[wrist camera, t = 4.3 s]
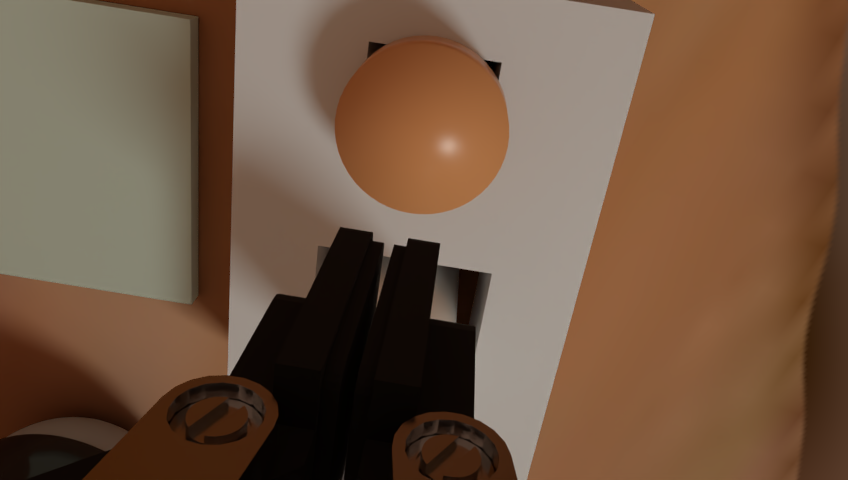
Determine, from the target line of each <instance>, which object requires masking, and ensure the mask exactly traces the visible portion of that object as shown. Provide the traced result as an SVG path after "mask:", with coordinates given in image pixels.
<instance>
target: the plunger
mask: <svg viewBox="0 0 848 480" xmlns="http://www.w3.org/2000/svg"><path fill="white" fill-rule="evenodd" d="M335 138H336V144H337V148H338V152H339V155H340V158H341V160H342V163H343V165H344V166H345V168H346V170H347V172H348V173H349V175H350V176H351V178H352V179H353V180H354V182H355V183H356V184H357V185H358V186H359V187H360V188H361V189H362V190H363V191H364V192H365V193H367V194H368V195H369V196H370V197H372V198H373V199H375V200H376V201H378V202H379V203H381V204H383V205H385V206H387V207H390V208H392V209H395V210H398V211H402V212H406V213H412V214H435V213H442V212H446V211H450V210H453V209H455V208H458V207H460V206H463V205H464V204H466V203H468V202H470V201H471V200H473V199H474V198H476V197H477V196H478V195H480V194H481V193H482V192H483V191H484V190H485V189H486V188H487V187H488V186H489V185H490V183H491V182H492V181H493V180H494V178H495V177H496V175H497V173H498V172H499V170H500V168H501V166H502V164H503V161H504V159H505V156H506V152H507V148H508V142H509V120H508V113H507V105H506V100H505V96H504V93H503V90H502V87H501V85H500V83H499V80H498V79H497V77H496V75H495V74H494V72H493V71H492V69H491V68H490V67H489V66H488V64H487V63H486V62H485V61H484V60H483V59H482V58H481V57H480V56H479V55H478V54H476V53H475V52H473V51H472V50H471V49H469V48H468V47H466V46H464V45H462V44H460V43H458V42H455V41H453V40H450V39H447V38H442V37H438V36H428V35H422V36H411V37H406V38H402V39H399V40H396V41H393V42H391V43H389V44H387V45H385V46H383V47H381V48H380V49H378V50H377V51H375V52H374V53H373V54H372V55H371V56H370V57H368V58H367V59H366V60H365V61H364V63H363V64H362V65H361V66H360V67H359V69H358V70H357V71H356V72H355V74H354V75H353V76H352V77H351V79H350V80H349V82H348V83H347V85H346V87H345V88H344V90H343V93H342V95H341V97H340V100H339V103H338V106H337V110H336V116H335Z"/></svg>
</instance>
